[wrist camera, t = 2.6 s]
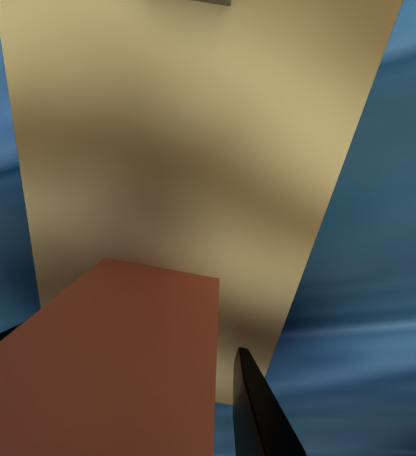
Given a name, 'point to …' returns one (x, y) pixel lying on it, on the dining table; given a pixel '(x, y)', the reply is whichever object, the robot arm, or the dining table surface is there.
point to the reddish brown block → (114, 367)
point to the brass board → (189, 140)
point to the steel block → (217, 2)
